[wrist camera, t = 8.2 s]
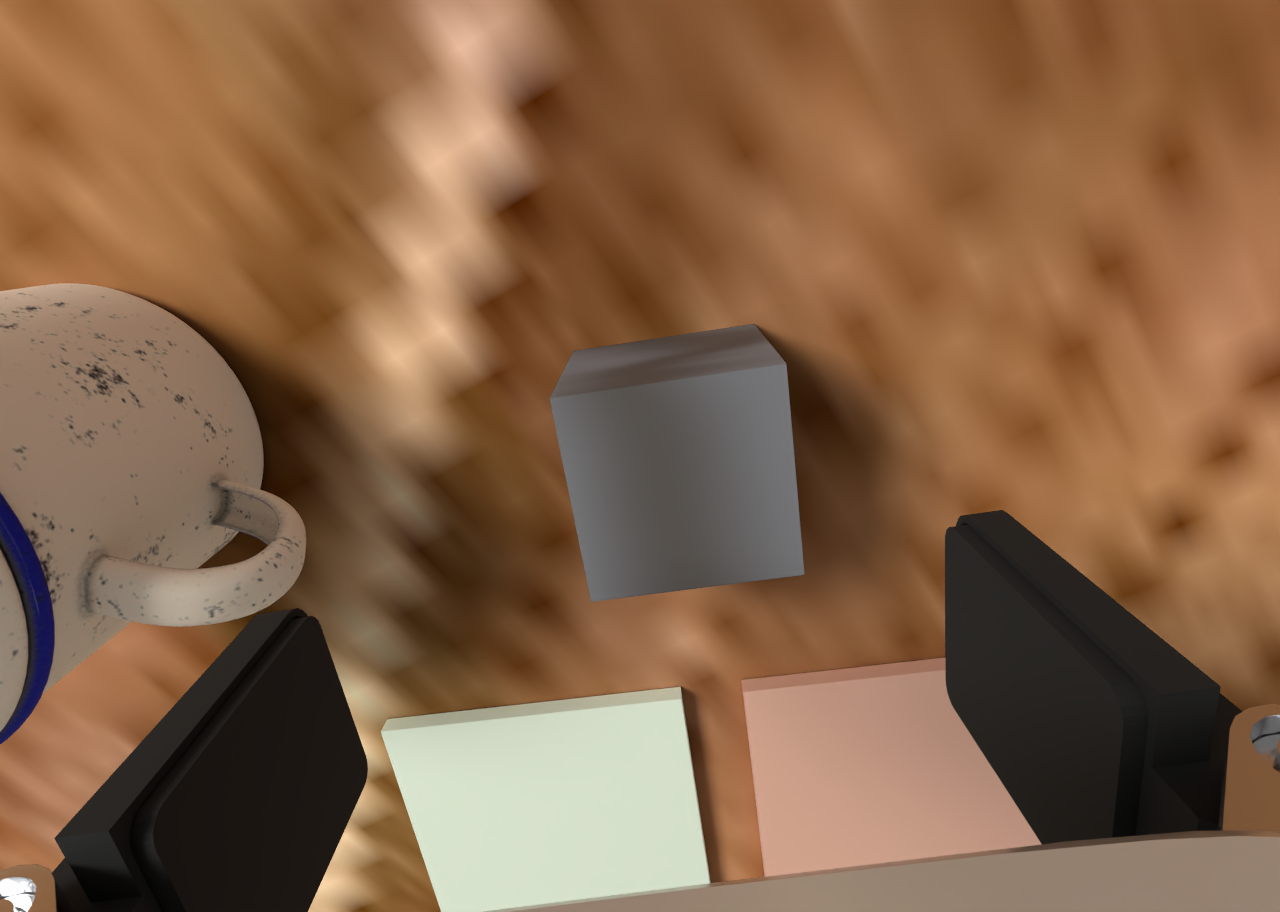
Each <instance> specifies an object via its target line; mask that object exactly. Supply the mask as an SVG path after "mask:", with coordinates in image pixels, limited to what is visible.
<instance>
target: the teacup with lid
mask: <svg viewBox="0 0 1280 912" xmlns="http://www.w3.org/2000/svg"><path fill="white" fill-rule="evenodd" d="M263 468H264V454H263V444H262V438H261V433H260V428H259V425H258V421H257V418H256V415H255V412H254V410H253V407H252V405H251V402H250V400H249V398H248V396H247V394H246V392H245V390H244V388H243V387H242V385H241V383H240V382H239V380H238V378H237V377H236V375H235V374H234V372H233V371H232V369H231V368H230V367H229V366H228V364H227V363H226V362H225V360H224V359H223V358H222V357H221V356H220V355H219V353H218V352H217V351H216V350H215V349H214V348H213V347H212V346H211V345H210V344H209V343H208V342H207V341H206V340H205V339H204V338H203V337H202V336H201V335H200V334H198V333H197V332H196V331H195V330H193V329H192V328H191V327H190V326H188V325H187V324H186V323H184V322H183V321H181V320H180V319H178V318H177V317H176V316H174V315H173V314H171V313H169V312H167V311H166V310H164V309H162V308H160V307H159V306H156V305H154V304H152V303H150V302H148V301H146V300H144V299H141V298H139V297H136V296H133V295H131V294H128V293H125V292H122V291H118V290H115V289H111V288H107V287H101V286H96V285H88V284H75V283H69V284H50V285H42V286H35V287H28V288H21V289H14V290H7V291H0V744H1V743H3V742H4V741H6V740H7V739H8V738H9V737H10V736H11V735H12V734H13V733H14V732H15V731H16V730H17V729H19V728H20V726H21V725H22V724H23V723H24V722H25V720H26V719H27V718H28V717H29V715H30V714H31V713H32V711H33V710H34V708H35V706H36V705H37V703H38V701H39V700H40V698H41V696H42V694H43V693H44V692H46V691H47V690H48V689H49V688H51V687H52V686H53V685H54V684H55V683H57V682H58V681H59V680H60V679H62V678H63V677H64V676H65V675H67V674H68V673H69V672H70V671H72V670H73V669H74V668H75V667H76V666H78V665H79V664H80V663H81V662H83V661H84V660H85V659H86V658H88V657H89V656H90V655H91V654H92V653H94V652H95V651H96V650H97V649H99V648H100V647H101V646H102V645H104V644H105V643H106V642H107V641H108V640H110V639H111V638H112V637H113V636H115V635H116V634H117V633H118V632H120V631H121V630H122V629H123V628H124V627H126V626H127V625H128V624H129V623H131V622H132V621H133V622H138V623H144V624H151V625H160V626H178V627H183V626H200V625H210V624H216V623H222V622H226V621H231V620H235V619H239V618H242V617H245V616H249V615H251V614H253V613H256V612H258V611H260V610H262V609H264V608H266V607H268V606H270V605H271V604H272V603H274V602H275V601H277V600H278V599H280V598H281V597H282V596H283V595H284V594H285V593H286V592H287V591H288V590H289V589H290V588H291V587H292V586H293V584H294V583H295V581H296V580H297V578H298V576H299V574H300V572H301V570H302V567H303V564H304V560H305V551H306V530H305V527H304V524H303V521H302V519H301V517H300V515H299V514H298V513H297V511H296V510H295V509H294V508H293V507H292V506H291V505H290V504H288V503H287V502H286V501H284V500H283V499H281V498H279V497H277V496H275V495H273V494H271V493H268V492H266V491H263V490H260V488H261V483H262V477H263ZM239 531H240V532H243V533H246V534H249V535H251V536H254V537H256V538H258V539H260V540H261V541H263V542H264V543H266V544H267V545H268V546H267V547H266V548H265V549H264V550H263V551H261V552H260V553H259V554H257V555H255V556H254V557H251V558H249V559H247V560H245V561H242V562H239V563H235V564H231V565H226V566H220V567H212V568H201V569H197V568H198V567H200V566H201V565H202V564H203V563H205V562H206V561H207V560H208V559H209V558H211V557H212V556H213V555H214V554H216V553H217V552H218V551H219V550H221V549H222V548H223V547H224V546H225V545H226V544H228V543H229V542H230V541H231V540H232V539H233V538H234V537H235V536H236V534H237V533H238V532H239Z"/></svg>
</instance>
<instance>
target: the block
mask: <svg viewBox="0 0 1280 912" xmlns="http://www.w3.org/2000/svg"><path fill="white" fill-rule="evenodd" d="M550 403H551V408H552V412H553V417H554V422H555V427H556V432H557V437H558V442H559V447H560V452H561V456H562V461H563V466H564V471H565V476H566V481H567V486H568V491H569V496H570V500H571V505H572V510H573V515H574V520H575V525H576V530H577V535H578V540H579V545H580V549H581V554H582V559H583V564H584V569H585V574H586V579H587V584H588V589H589V593H590V598H591V602H593V601H601V600H609V599H617V598H625V597H633V596H640V595H648V594H656V593H664V592H672V591H680V590H688V589H696V588H704V587H712V586H719V585H727V584H735V583H743V582H751V581H759V580H767V579H775V578H783V577H790V576H798V575H804V563H803V552H802V540H801V528H800V516H799V505H798V493H797V481H796V470H795V458H794V446H793V434H792V423H791V411H790V399H789V388H788V376H787V364H786V363H785V361H784V360H783V359H782V358H781V356H780V355H779V354H778V353H777V351H776V350H775V349H774V348H773V347H772V345H771V344H770V343H769V342H768V340H767V339H766V338H765V337H764V335H763V334H762V333H761V332H760V330H759V329H758V328H757V327H756V326H755V324H750V325H743V326H736V327H730V328H723V329H716V330H710V331H703V332H697V333H690V334H683V335H677V336H670V337H663V338H657V339H650V340H643V341H637V342H630V343H623V344H617V345H610V346H603V347H597V348H590V349H584V350H577V351H573V353H572V355H571V357H570V359H569V361H568V363H567V365H566V367H565V369H564V371H563V373H562V375H561V377H560V379H559V381H558V383H557V385H556V387H555V389H554V391H553V393H552V395H551V397H550Z"/></svg>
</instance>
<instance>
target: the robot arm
mask: <svg viewBox="0 0 1280 912" xmlns="http://www.w3.org/2000/svg"><path fill="white" fill-rule="evenodd" d="M945 669H946V688H947V693H948V696H949V699H950V702H951V704H952V706H953V708H954V710H955V711H956V713H957V714H958V716H959V717H960V719H961V720H962V722H963V723H964V725H965V727H966V728H967V730H968V731H969V733H970V734H971V736H972V737H973V739H974V740H975V742H976V744H977V745H978V747H979V748H980V750H981V751H982V753H983V754H984V756H985V757H986V759H987V760H988V762H989V764H990V765H991V767H992V768H993V770H994V771H995V773H996V774H997V776H998V777H999V779H1000V781H1001V782H1002V784H1003V785H1004V787H1005V788H1006V790H1007V791H1008V793H1009V794H1010V796H1011V798H1012V799H1013V801H1014V802H1015V804H1016V805H1017V807H1018V808H1019V810H1020V811H1021V813H1022V815H1023V816H1024V818H1025V819H1026V821H1027V822H1028V824H1029V825H1030V827H1031V828H1032V830H1033V832H1034V833H1035V835H1036V836H1037V838H1038V839H1039V841H1040V842H1041V845H1032V846H1024V847H1015V848H1006V849H997V850H988V851H980V852H971V853H962V854H953V855H945V856H937V857H928V858H920V859H911V860H903V861H894V862H886V863H877V864H869V865H860V866H852V867H843V868H835V869H826V870H818V871H809V872H801V873H792V874H784V875H775V876H767V877H758V878H750V879H741V880H733V881H725V882H717V883H708V884H700V885H692V886H684V887H676V888H668V889H660V890H652V891H643V892H635V893H627V894H619V895H611V896H603V897H595V898H587V899H579V900H571V901H563V902H555V903H547V904H539V905H531V906H523V907H515V908H507V909H499V910H491V911H483V912H1280V704H1266V705H1261V706H1256V707H1251V708H1248V709H1246V710H1245V711H1243V712H1242V711H1241V710H1240V709H1239V708H1237V707H1236V706H1235V705H1234V704H1233V703H1231V702H1230V701H1229V700H1228V699H1226V698H1225V697H1224V696H1223V695H1222V694H1220V687H1221V686H1219V685H1218V684H1217V683H1216V682H1214V681H1213V680H1212V679H1211V678H1209V677H1208V676H1207V675H1206V674H1205V673H1203V672H1202V671H1201V670H1200V669H1198V668H1197V667H1196V666H1195V665H1193V664H1192V663H1191V662H1190V661H1189V660H1187V659H1186V658H1185V657H1184V656H1182V655H1181V654H1180V653H1179V652H1177V651H1176V650H1175V649H1174V648H1173V647H1171V646H1170V645H1169V644H1168V643H1166V642H1165V641H1164V640H1163V639H1162V638H1160V637H1159V636H1158V635H1157V634H1155V633H1154V632H1153V631H1152V630H1150V629H1149V628H1148V627H1147V626H1146V625H1144V624H1143V623H1142V622H1141V621H1139V620H1138V619H1137V618H1136V617H1134V616H1133V615H1132V614H1131V613H1130V612H1128V611H1127V610H1126V609H1125V608H1123V607H1122V606H1121V605H1120V604H1118V603H1117V602H1116V601H1115V600H1114V599H1112V598H1111V597H1110V596H1109V595H1107V594H1106V593H1105V592H1104V591H1102V590H1101V589H1100V588H1099V587H1098V586H1096V585H1095V584H1094V583H1093V582H1091V581H1090V580H1089V579H1088V578H1087V577H1085V576H1084V575H1083V574H1082V573H1080V572H1079V571H1078V570H1077V569H1075V568H1074V567H1073V566H1072V565H1071V564H1069V563H1068V562H1067V561H1066V560H1064V559H1063V558H1062V557H1061V556H1059V555H1058V554H1057V553H1056V552H1055V551H1053V550H1052V549H1051V548H1050V547H1048V546H1047V545H1046V544H1045V543H1043V542H1042V541H1041V540H1040V539H1039V538H1037V537H1036V536H1035V535H1034V534H1032V533H1031V532H1030V531H1029V530H1027V529H1026V528H1025V527H1024V526H1023V525H1021V524H1020V523H1019V522H1018V521H1016V520H1015V519H1014V518H1013V517H1011V516H1010V515H1009V514H1008V513H1006V512H1005V511H1003V510H999V511H992V512H985V513H977V514H970V515H963V516H960V517H959V519H958V521H957V524H956V527H949V528H948V529H947V531H946V535H945ZM367 771H368V766H367V759H366V755H365V752H364V749H363V747H362V744H361V741H360V738H359V735H358V732H357V729H356V726H355V724H354V721H353V718H352V715H351V712H350V709H349V706H348V703H347V701H346V698H345V695H344V692H343V689H342V686H341V683H340V680H339V678H338V675H337V672H336V669H335V666H334V663H333V660H332V657H331V654H330V652H329V649H328V646H327V643H326V640H325V637H324V634H323V631H322V629H321V626H320V624H319V622H318V620H317V619H316V618H315V617H313V616H309V617H308V616H307V614H306V613H305V612H304V611H303V610H301V609H299V608H297V609H290V610H283V611H276V612H269V613H262V614H258V615H257V616H255V617H254V618H253V619H252V620H251V621H250V622H249V623H248V625H247V626H246V627H245V628H244V629H243V630H242V631H241V632H240V633H239V635H238V636H237V637H236V638H235V639H234V640H233V641H232V642H231V643H230V645H229V646H228V647H227V648H226V649H225V650H224V651H223V652H222V653H221V654H220V656H219V657H218V658H217V659H216V660H215V661H214V662H213V663H212V664H211V666H210V667H209V668H208V669H207V670H206V671H205V672H204V673H203V674H202V676H201V677H200V678H199V679H198V680H197V681H196V682H195V683H194V684H193V685H192V687H191V688H190V689H189V690H188V691H187V692H186V693H185V694H184V695H183V697H182V698H181V699H180V700H179V701H178V702H177V703H176V704H175V705H174V707H173V708H172V709H171V710H170V711H169V712H168V713H167V714H166V715H165V716H164V718H163V719H162V720H161V721H160V722H159V723H158V724H157V725H156V726H155V728H154V729H153V730H152V731H151V732H150V733H149V734H148V735H147V736H146V738H145V739H144V740H143V741H142V742H141V743H140V744H139V745H138V746H137V747H136V749H135V750H134V751H133V752H132V753H131V754H130V755H129V756H128V757H127V759H126V760H125V761H124V762H123V763H122V764H121V765H120V766H119V767H118V769H117V770H116V771H115V772H114V773H113V774H112V775H111V776H110V777H109V779H108V780H107V781H106V782H105V783H104V784H103V785H102V786H101V787H100V788H99V790H98V791H97V792H96V793H95V794H94V795H93V796H92V797H91V798H90V800H89V801H88V802H87V803H86V804H85V805H84V806H83V807H82V808H81V810H80V811H79V812H78V813H77V814H76V815H75V816H74V817H73V818H72V819H71V821H70V822H69V823H68V824H67V825H66V826H65V827H64V828H63V829H62V831H61V832H60V833H59V834H58V835H57V836H56V837H55V840H56V842H57V844H58V845H59V847H60V849H61V851H62V853H63V854H64V856H65V858H64V860H63V861H62V862H61V863H60V864H59V865H58V867H57V868H56V869H55V870H54V871H53V872H51V871H50V869H48V868H46V867H43V866H41V865H38V864H32V865H18V866H15V867H11V868H8V869H4V870H1V871H0V912H308V910H309V908H310V905H311V903H312V901H313V899H314V897H315V894H316V892H317V890H318V888H319V885H320V883H321V881H322V879H323V877H324V874H325V872H326V870H327V868H328V866H329V863H330V861H331V859H332V857H333V854H334V852H335V850H336V848H337V846H338V843H339V841H340V839H341V837H342V835H343V832H344V830H345V828H346V826H347V823H348V821H349V819H350V817H351V815H352V812H353V810H354V808H355V806H356V804H357V801H358V799H359V797H360V795H361V792H362V790H363V788H364V786H365V783H366V779H367Z"/></svg>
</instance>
